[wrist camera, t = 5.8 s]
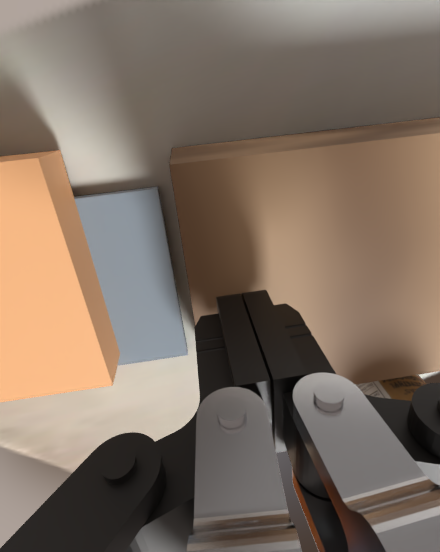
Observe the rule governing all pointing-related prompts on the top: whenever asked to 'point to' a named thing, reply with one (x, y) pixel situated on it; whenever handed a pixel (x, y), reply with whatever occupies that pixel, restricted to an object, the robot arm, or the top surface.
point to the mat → (134, 272)
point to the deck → (324, 237)
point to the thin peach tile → (48, 286)
